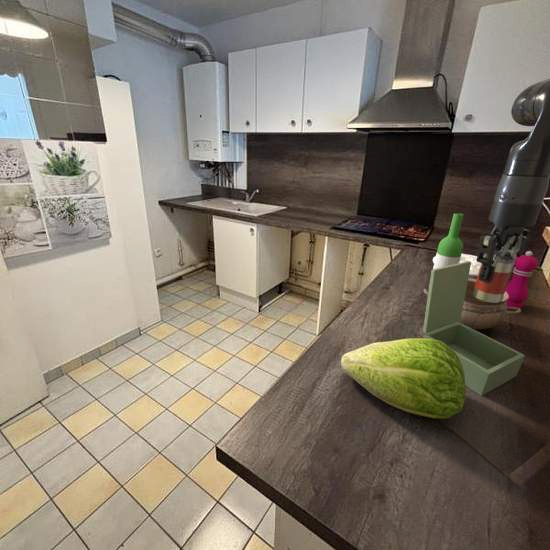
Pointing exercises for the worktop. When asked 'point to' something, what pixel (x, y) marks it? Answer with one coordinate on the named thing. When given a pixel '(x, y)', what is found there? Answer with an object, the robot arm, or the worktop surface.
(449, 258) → the wine bottle
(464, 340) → the bin
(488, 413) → the worktop surface
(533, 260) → the pepper mill
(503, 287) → the jar
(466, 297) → the cooking pot
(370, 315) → the worktop surface
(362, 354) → the lettuce
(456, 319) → the bin lid
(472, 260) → the ceiling medallion
